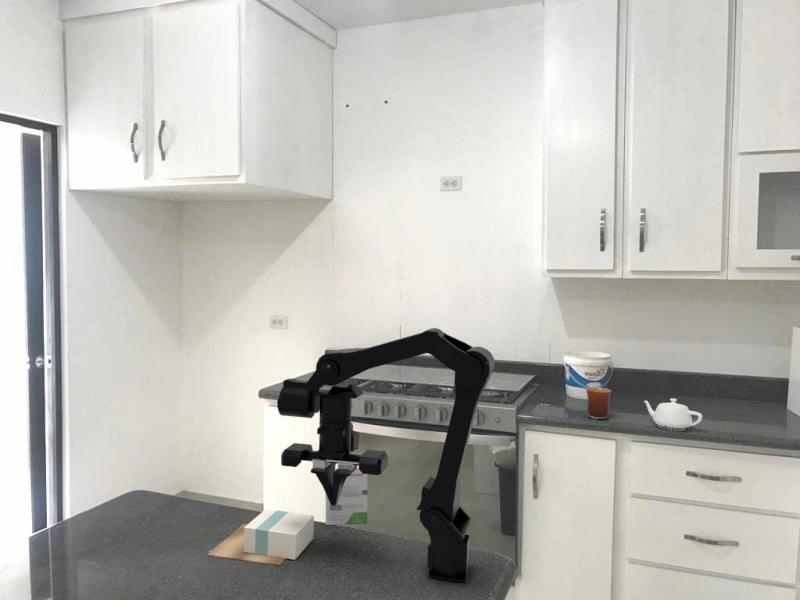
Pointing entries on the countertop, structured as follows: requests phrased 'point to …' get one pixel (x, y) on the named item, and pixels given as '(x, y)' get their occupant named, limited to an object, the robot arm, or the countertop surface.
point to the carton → (278, 534)
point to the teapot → (673, 415)
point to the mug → (598, 402)
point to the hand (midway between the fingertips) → (334, 504)
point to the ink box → (350, 501)
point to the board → (241, 550)
